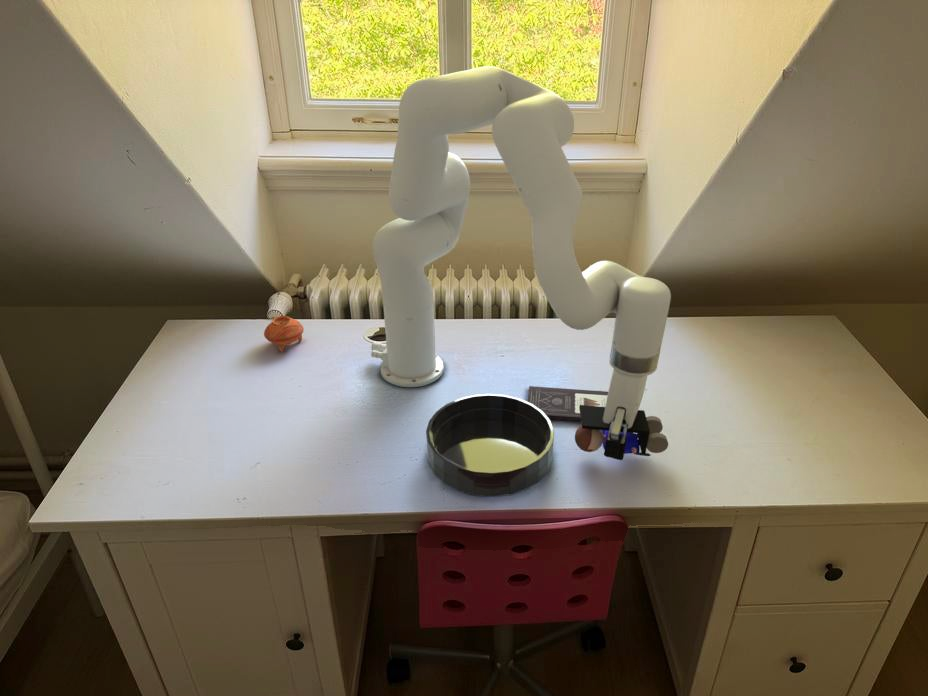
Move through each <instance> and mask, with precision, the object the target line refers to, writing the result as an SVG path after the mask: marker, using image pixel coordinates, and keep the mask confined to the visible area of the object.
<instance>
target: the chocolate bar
mask: <svg viewBox="0 0 928 696" xmlns="http://www.w3.org/2000/svg"><path fill="white" fill-rule="evenodd" d="M607 396H608V391H606V390H605V391H604V390H603V391H602V390H589V389H574V388H561V387H546V386H532V385H529V386H528V396H527V402H529V403H532V404H533V405H534V406H536V407H537V408H539V409H540V410H542V411H543V412H544V413H545V415H546V416H547V417H548V418H549V419H550V421H565V422H578V423H579V422H580V423H581V416H580V409H579V407H580V405H587V406H599V407H605V406H606V401H607Z"/></svg>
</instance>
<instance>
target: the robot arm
mask: <svg viewBox="0 0 928 696" xmlns="http://www.w3.org/2000/svg"><path fill="white" fill-rule="evenodd" d="M397 119H398V120H397V136H396V141H395V147H394V153H393V160H392V167H391V174H390V180H389V188H388V202H389V206H390V208H391V210H392V212H393V213H394V215H396V217H397V218H396V219H393V220H391V221H390V222H388V223H386V224H385V225H383V226H382V227H380V229H379V230H377V232H376V233H375V235H374V237H373V240H372V254H373V257H374V261H375V264H376V269H377V270H378V277H379V281H380V288H381V296H382V297H381V298H382V306H383V308H382V309H383V319H384V330H385V331H384V333H385V343H386V344H384V343H381V342H377V341H372V343H371V348H370V349H371V352H370V356H371V357H372V358H376V359H381V361H382V362H381V364H380V374H381V377H382V378H383V379H384V380H385V381H386V382H388V383H389V384H392V385H394V386H398V387H403V388H418V387H424V386H426V385H429V384H432V383H433V382H436V381H437V380H439V379H440V378H441V376H442V375H443V374H444V369H445V366H444V365H445V364H444V361H443V359H442V358H441V357H440V356H439V355H437V353H436V330H435V303H434V289H433V286H432V283H431V281H430V279H429V278H428V276H427V275H426V272H425V268H426V267H427V266H428V265H430V264H432V262H434V261H436V260H438V259H440V258H442V257H443V256H445V255H448V254H449V253H450V252H451V251H453V249H454V248H455V247H456V246H457V244H458V242H459V239H460V236H461V232H462V228H463V224H464V219H465V215H466V211H467V208H468V203H469V198H470V194H471V178H470V173H469V170H468V168H467V166H466V164H465V163H464V160H462V159H461V158H460V157H459V155H456V154H454V153H452V152H450V139H449V136H450V135H459V134H460V135H461V134H464V133H468V132H472V131H475V130H478V129H482V128H484V127H487V126H491V125H492V127H491V136H492V141H493V143H494V146H495V147H496V149H497V152H498V154H499V155H500V157H501V160H502V161H503V164H504V165H505V167H506V170H507V172H508V174H509V175H510V178H511V180H512V182H513V184H514V186H515V188H516V190H517V192H518V194H519V197H520V198H521V200H522V202H523V204H524V206H525V208H526V210H527V212H528V215H529V216H530V219H531V249H532V261H533V267H534V271H535V272H534V273H535V275H536V278H537V281H538V283H539V285H540V287H541V289H542V291H543V293H544V295H545V297H546V299H547V302H548V303H549V305H550V307H551V309H552V310H553V312H554V314H555V315H556V316H557V317H558V319H559V320H560V321H561V322H562V323H563V324H564V325H565V326H567V327H569V328H571V329H574V330H578V331H583V330H588V329H590V328H591V329H592V327H594V326H596V325H597V324H598V323H600V322H601V321H602V320H603V319H604V318H606V317H607V316H608V315H609V314H612V313H614V314H615V319H614V320H615V321H614V326H613V332H612V333H613V334H612V340H611V347H610V352H609V358H608V363H609V365H610V366H611V368H612V373H611V377H610V382H609V386H608V390H607V392H608V396H607V401H606V406H605V411H604V416H603V422H604V423H608V424H609V423H610V422H611V425H610V429H609V434H608V436H607V439H606V445H605V450H603V451H604V452H603V455H604V457H606V458H610V459H613V460H619V461H623V460H624V457H625V454H624V452H625V447H626V442H627V440H625V438H626V434H627V429H629V428H631V427H632V425H633V422H634V420H635V417H636V415H637V412H638V410H640V406H641V403H642V400H643V397H644V393H645V390H646V384H647V380H648V376H650V375H652V374H654V373H655V372H656V371H657V369H658V364H659V359H660V354H661V349H662V344H663V339H664V334H665V330H666V326H667V319H668V315H669V310H670V305H671V301H672V294H671V289H670V288H669V287H668V285H666V284H665V283H664V282H662V281H661V280H659V279H656V278H652V277H648V276H641V275H639V274H637V273H635V272H634V271H632V270H630V269H628V268H627V267H625V266H623V265H622V264H619V263H617V262H614V261H611V260H600V261H597V262H595V263H593V264H591V265H590V266H589V267H587V268H586V269H584V270H583V271H582V270H581V268H580V266H579V263H578V261H577V257H576V254H575V249H574V232H575V231H574V230H575V225H576V221H577V218H578V215H579V212H580V209H581V207H582V202H583V190H582V188H581V186H580V184H579V182H578V179H577V177H576V175H575V173H574V171H573V169H572V167H571V164H570V163H569V161H568V159H567V156H566V154H565V152H564V150H563V148H562V147H564V146H565V145H567V143H568V142H569V141H570V140H571V138H572V137H573V133H574V130H575V119H574V115H573V112H572V109H571V107H570V106H569V105H568V103H567V102H566V101H565V100H564V99H563V98H562V97H560V96H559V95H558V94H556V93H555V92H554V91H552V90H549V89H548V88H545V87H543V86H541V85H539V84H537V83H534V82H533V81H530V80H528V79H526V78H523V77H521V76H519V75H517V74H515V73H513V72H511V71H508V70H506V69H504V68H501V67H498V66H489V65H485V66H480V67H475V68H471V69H467V70H460V71H455V72H450V73H447V74H442V75H438V76H437V75H436V76H432V77H427V78H423V79H418V80H416V81H413V82H412V83H411V84H410V85H408V86H407V88H405V90H404V91H403V94H402V95H401V98H400V101H399V105H398V118H397ZM623 419H624V420H626V424H625V423H623ZM621 427H623V428H624V430H623V434H620V430H621Z"/></svg>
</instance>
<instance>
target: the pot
mask: <svg viewBox="0 0 928 696" xmlns="http://www.w3.org/2000/svg"><path fill="white" fill-rule="evenodd" d="M304 331H305V330H304V326H303V325H302V323H301V322H300V321H299V320H297V319H294V318H292V317H290V316H287V315H280V316H276V317H275V318H273V319H272V320H271V322H270V323H269V324H268V325H267V326H266V327H265V329H264V332H263V336H264V338H265V339H266V340H267V341H268V342H269V343H271V344H274V345H277V347H278V349H279V350H280V352H281V353H283V352H284V351H285V346H288V345H291V344H293V343H295V342H297V341H298V342H299V343H301V342H302V340H303V333H304Z"/></svg>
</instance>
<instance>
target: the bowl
mask: <svg viewBox="0 0 928 696" xmlns="http://www.w3.org/2000/svg"><path fill="white" fill-rule="evenodd" d="M435 411H436V412H434V413H433V415H432V416H431V417H430V419H429V420H428V423H427V427H426V430H425V437H426V439H425V440H426V454H427V462H428V466H429V467H430V469H431V471H432V473H433V475H435V476H436V477H437V478H438V479H439V480H440V481H441V482H442V483H443V484H445V485H446V486H448V487H451V488H452V489H454V490H456V491H458V492H461V493H465V494H469V495H471V496H472V495H473V496H481V497H499V496H500V497H501V496H508V495H512V494H515V493H519V492H522V491H525V490H527V489H529V488H531V487H532V486H534V485H536V484H537V483H539V482H540V481H541V480H542V479H543V478H544V476H546V475H547V473H548V472H549V470H550V467H551V465H552V462H553V451H554V439H555V429H554V426H553V423H552V420H550V419H549V418H548V417H547V416H546V415H545V413H544V412H543V411H542V410H540V409H539V408H537V407H536V406H534V405H533V404H532V403H529V402H528V400H525V399H522V398H519V397H516V396H511V395H507V394H501V393H499V394H498V393H481V394H472V395H467V396H463V397H460V398H457V399H455V400H453V401H450V402H448V403H446V404H445V405H443V406H441V407H440V408H439V409H438V410H435Z"/></svg>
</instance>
